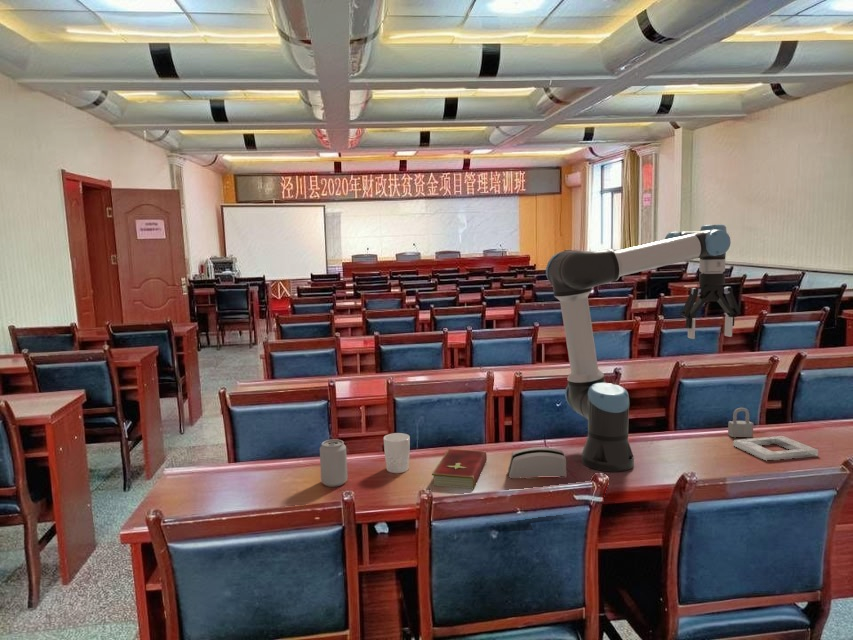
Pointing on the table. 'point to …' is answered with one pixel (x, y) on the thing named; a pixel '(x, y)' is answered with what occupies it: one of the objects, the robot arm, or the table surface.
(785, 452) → the holed plate
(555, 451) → the napkin holder
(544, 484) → the table surface
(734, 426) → the padlock
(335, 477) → the can
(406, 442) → the white cup
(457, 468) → the hardcover book
